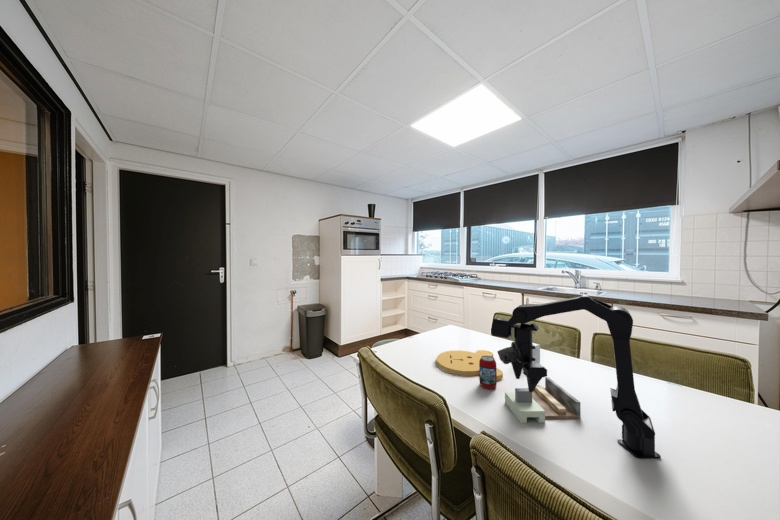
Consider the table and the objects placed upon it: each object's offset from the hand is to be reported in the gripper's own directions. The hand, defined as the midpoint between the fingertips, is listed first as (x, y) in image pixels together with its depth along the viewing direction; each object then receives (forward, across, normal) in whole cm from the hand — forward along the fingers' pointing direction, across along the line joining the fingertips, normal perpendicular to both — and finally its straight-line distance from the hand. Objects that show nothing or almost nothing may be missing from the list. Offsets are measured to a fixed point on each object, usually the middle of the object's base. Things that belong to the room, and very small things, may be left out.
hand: (523, 384), depth 90 cm
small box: (+10, -40, +23) cm, 47 cm away
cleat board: (+10, -5, +11) cm, 15 cm away
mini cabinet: (+10, 0, 0) cm, 10 cm away
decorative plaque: (+10, -40, -9) cm, 42 cm away
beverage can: (+10, -18, -6) cm, 21 cm away
